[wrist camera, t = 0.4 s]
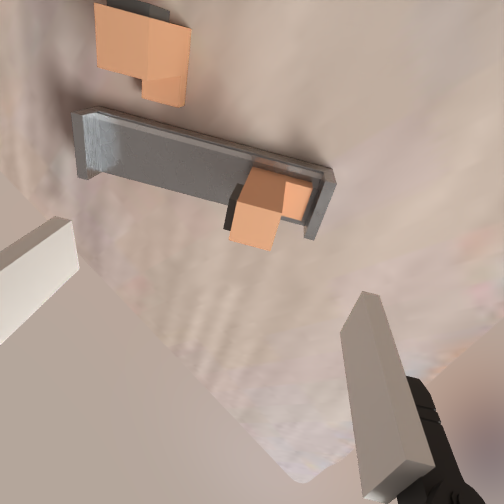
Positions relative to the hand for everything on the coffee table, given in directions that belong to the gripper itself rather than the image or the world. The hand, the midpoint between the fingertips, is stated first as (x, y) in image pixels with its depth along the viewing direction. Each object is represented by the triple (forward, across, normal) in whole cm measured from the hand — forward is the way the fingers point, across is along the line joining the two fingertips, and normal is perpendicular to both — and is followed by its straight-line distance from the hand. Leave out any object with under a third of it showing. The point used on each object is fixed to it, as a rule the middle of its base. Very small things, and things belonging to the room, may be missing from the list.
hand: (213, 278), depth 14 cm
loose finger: (+25, -12, +6) cm, 28 cm away
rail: (+25, -6, -4) cm, 26 cm away
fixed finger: (+23, +2, -4) cm, 24 cm away
